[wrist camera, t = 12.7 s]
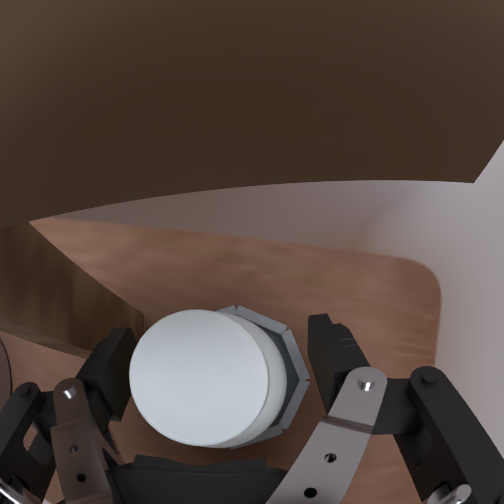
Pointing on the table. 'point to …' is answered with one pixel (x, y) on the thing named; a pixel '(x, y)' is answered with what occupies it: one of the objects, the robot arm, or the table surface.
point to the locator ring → (293, 367)
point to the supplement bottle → (207, 378)
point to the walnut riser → (221, 117)
